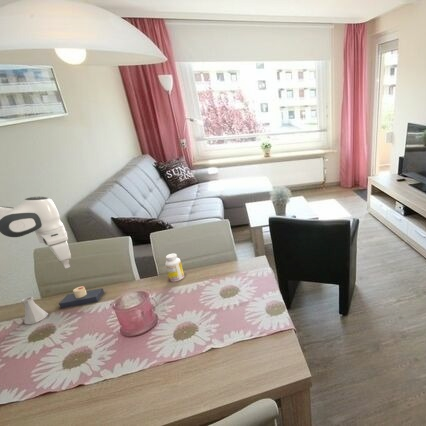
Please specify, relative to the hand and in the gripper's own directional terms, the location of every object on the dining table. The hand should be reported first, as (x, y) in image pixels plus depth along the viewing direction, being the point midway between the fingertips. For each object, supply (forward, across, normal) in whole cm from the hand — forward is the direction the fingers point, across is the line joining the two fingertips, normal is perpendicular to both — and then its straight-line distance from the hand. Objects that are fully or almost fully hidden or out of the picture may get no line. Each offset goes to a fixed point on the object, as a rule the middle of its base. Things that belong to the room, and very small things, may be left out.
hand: (64, 264), depth 124 cm
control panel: (+19, +1, +1) cm, 19 cm away
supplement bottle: (+20, +19, +35) cm, 44 cm away
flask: (+19, -1, -15) cm, 24 cm away
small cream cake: (+16, +1, +1) cm, 16 cm away
